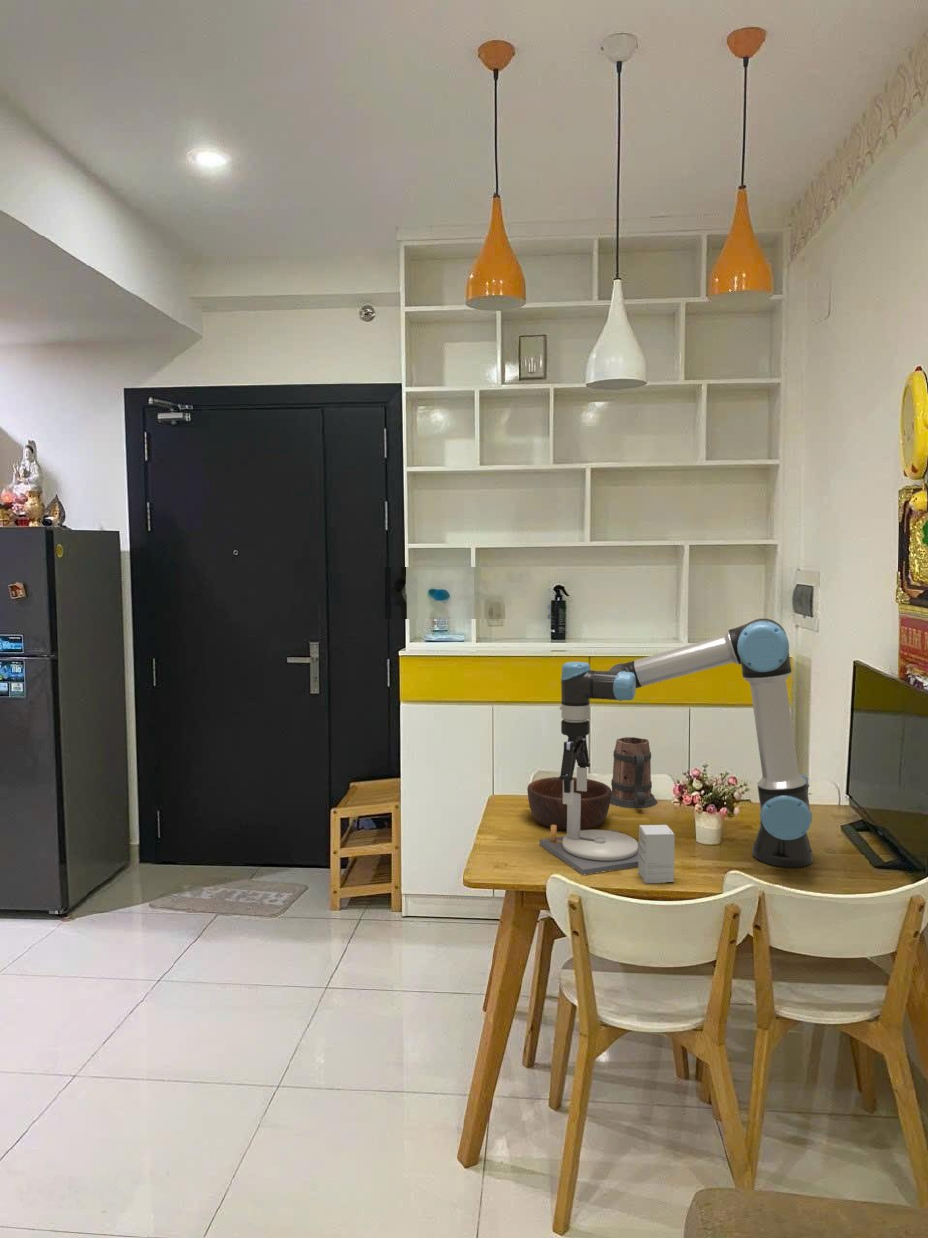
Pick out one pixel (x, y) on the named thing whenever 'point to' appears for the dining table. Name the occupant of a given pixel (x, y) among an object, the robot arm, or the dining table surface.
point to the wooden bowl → (552, 811)
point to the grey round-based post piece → (595, 839)
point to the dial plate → (582, 864)
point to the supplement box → (656, 853)
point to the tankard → (632, 774)
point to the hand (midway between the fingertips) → (575, 797)
